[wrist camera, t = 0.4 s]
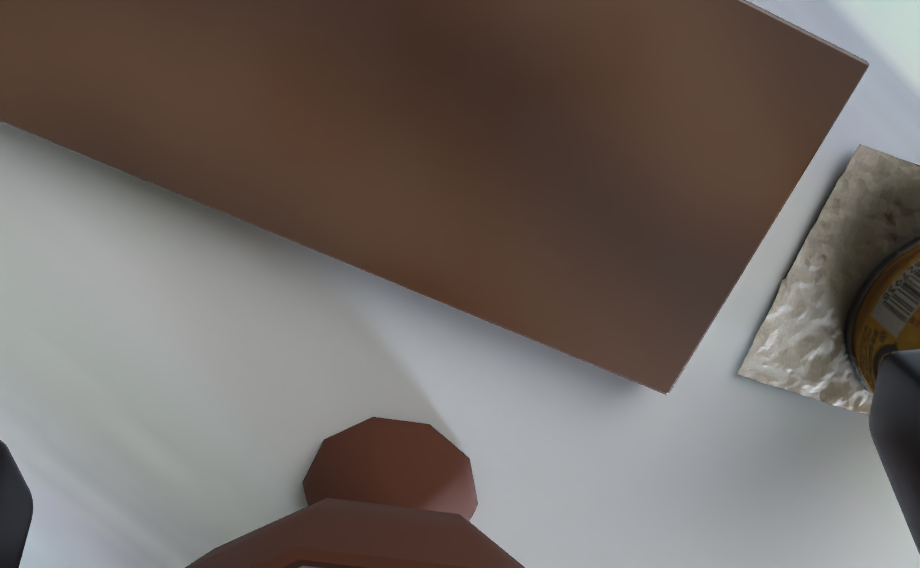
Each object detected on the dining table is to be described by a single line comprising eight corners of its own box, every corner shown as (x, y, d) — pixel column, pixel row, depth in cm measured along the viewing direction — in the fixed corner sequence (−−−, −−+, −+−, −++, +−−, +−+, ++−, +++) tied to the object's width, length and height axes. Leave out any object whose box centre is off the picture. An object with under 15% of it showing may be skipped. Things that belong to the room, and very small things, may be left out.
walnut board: (656, 372, 25) (668, 397, 23) (-15, 93, 22) (-47, 103, 20) (845, 56, 22) (872, 63, 20) (85, -325, 18) (55, -348, 17)
